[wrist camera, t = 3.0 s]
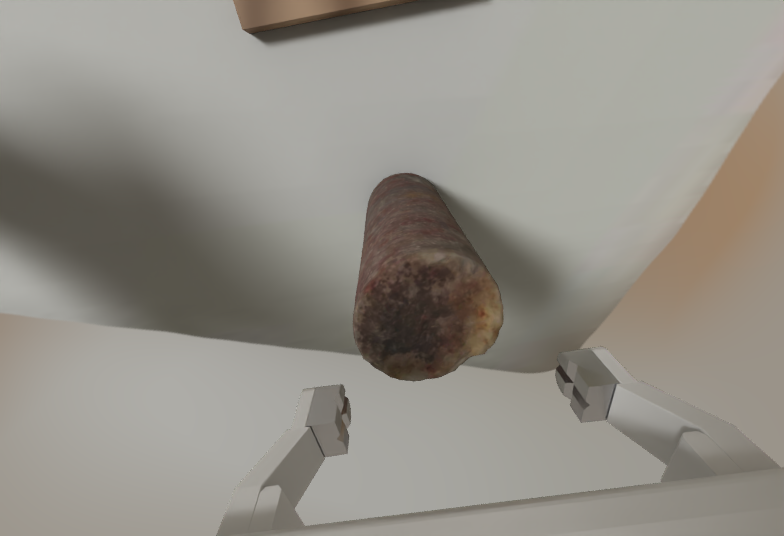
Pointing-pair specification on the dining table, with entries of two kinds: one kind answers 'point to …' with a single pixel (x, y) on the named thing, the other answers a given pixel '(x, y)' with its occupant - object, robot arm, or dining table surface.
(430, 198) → the wooden log
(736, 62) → the dining table surface
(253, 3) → the walnut board
